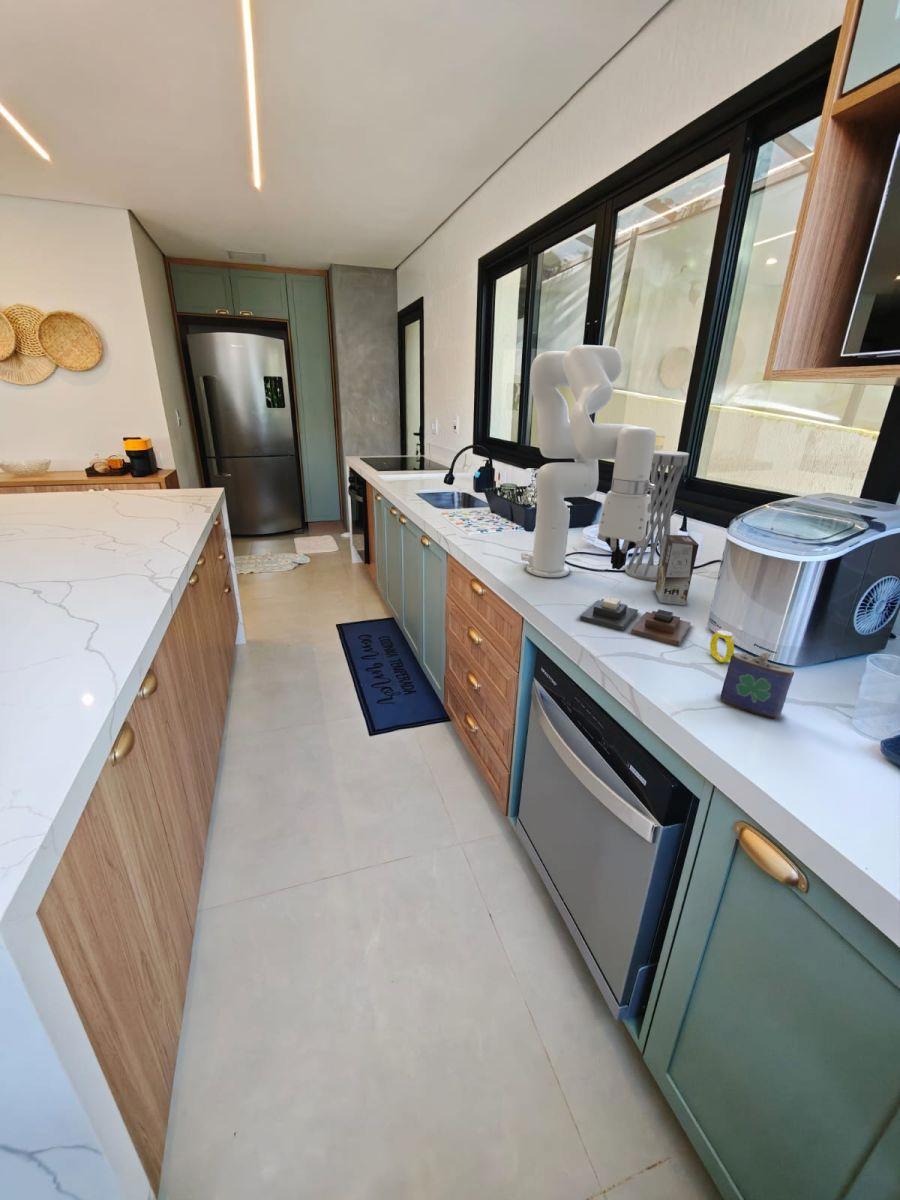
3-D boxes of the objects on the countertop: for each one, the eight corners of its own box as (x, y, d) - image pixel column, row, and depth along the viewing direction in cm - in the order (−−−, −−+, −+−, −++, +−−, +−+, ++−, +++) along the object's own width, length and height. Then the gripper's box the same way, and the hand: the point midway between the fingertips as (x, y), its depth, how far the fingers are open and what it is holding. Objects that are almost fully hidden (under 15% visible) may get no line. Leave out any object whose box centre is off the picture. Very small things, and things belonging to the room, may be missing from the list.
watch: (733, 666, 100) (741, 639, 98) (720, 666, 100) (727, 640, 97) (717, 652, 105) (723, 626, 103) (704, 652, 105) (710, 626, 103)
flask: (780, 714, 85) (798, 658, 81) (778, 722, 83) (796, 665, 79) (721, 694, 90) (735, 641, 86) (717, 702, 88) (731, 647, 84)
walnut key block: (631, 633, 113) (633, 621, 111) (645, 616, 122) (647, 604, 121) (678, 646, 107) (681, 633, 106) (689, 626, 117) (692, 615, 115)
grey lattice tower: (675, 571, 153) (699, 452, 140) (668, 584, 143) (694, 456, 129) (629, 563, 160) (648, 448, 146) (619, 575, 149) (639, 452, 135)
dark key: (653, 620, 113) (655, 613, 113) (657, 616, 116) (658, 609, 115) (668, 624, 112) (670, 617, 111) (672, 619, 114) (673, 612, 113)
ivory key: (601, 607, 119) (602, 601, 119) (606, 603, 122) (607, 596, 121) (615, 611, 118) (616, 604, 117) (619, 606, 120) (620, 600, 120)
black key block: (579, 620, 119) (581, 608, 118) (597, 604, 128) (598, 593, 127) (622, 631, 114) (624, 619, 112) (637, 614, 123) (639, 602, 122)
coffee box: (686, 605, 128) (699, 544, 122) (659, 603, 129) (671, 542, 123) (678, 592, 137) (691, 535, 130) (653, 590, 138) (664, 533, 131)
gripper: (669, 488, 108) (655, 570, 115) (601, 481, 116) (591, 558, 123) (661, 493, 102) (646, 578, 109) (589, 485, 110) (580, 565, 117)
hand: (617, 567), depth 116 cm, fingers closed
